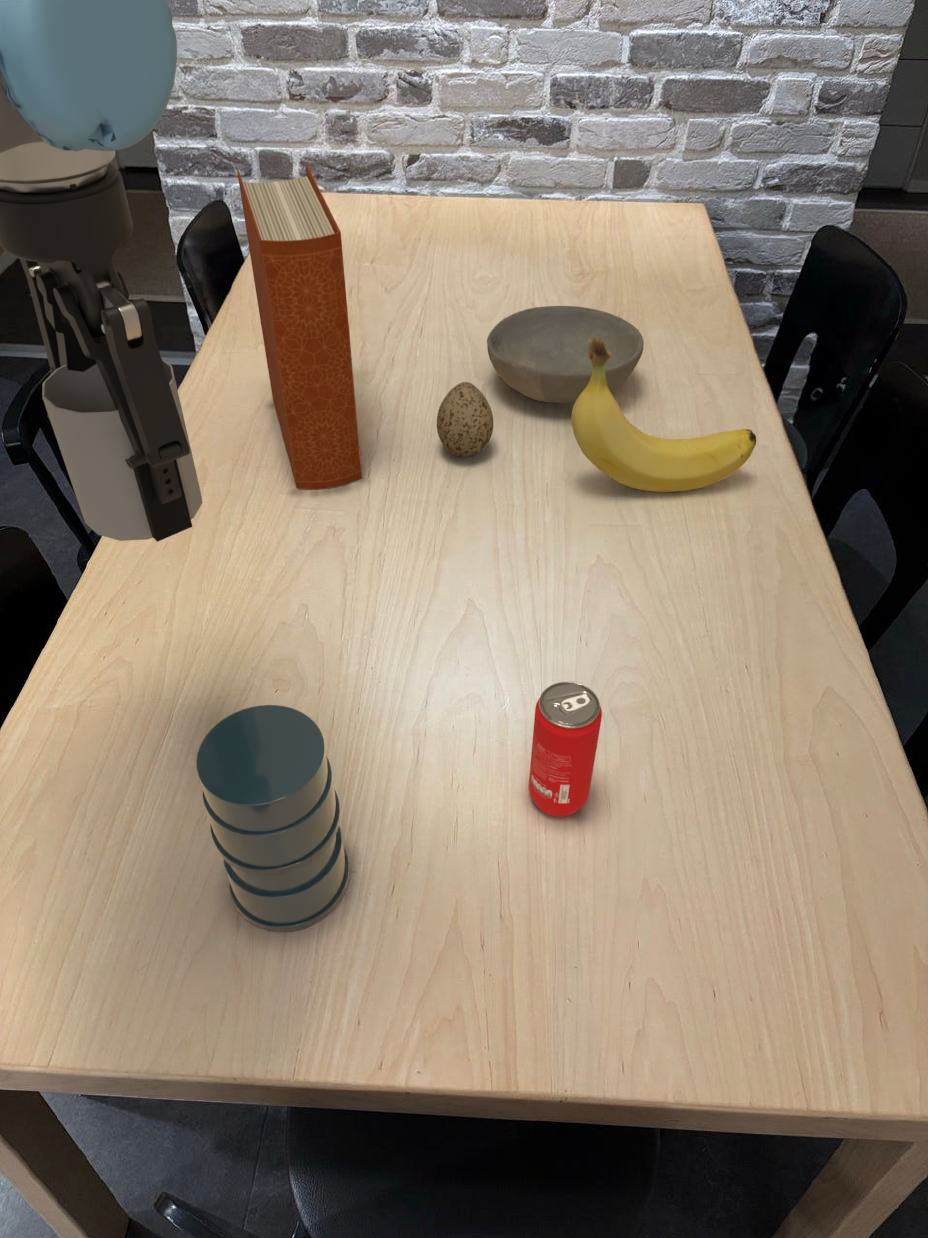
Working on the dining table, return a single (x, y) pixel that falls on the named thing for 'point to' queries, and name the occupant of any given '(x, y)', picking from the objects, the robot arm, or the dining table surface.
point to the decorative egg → (465, 420)
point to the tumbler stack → (274, 816)
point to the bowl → (561, 350)
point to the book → (304, 327)
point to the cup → (105, 453)
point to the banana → (649, 442)
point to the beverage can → (564, 747)
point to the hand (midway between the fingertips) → (142, 501)
